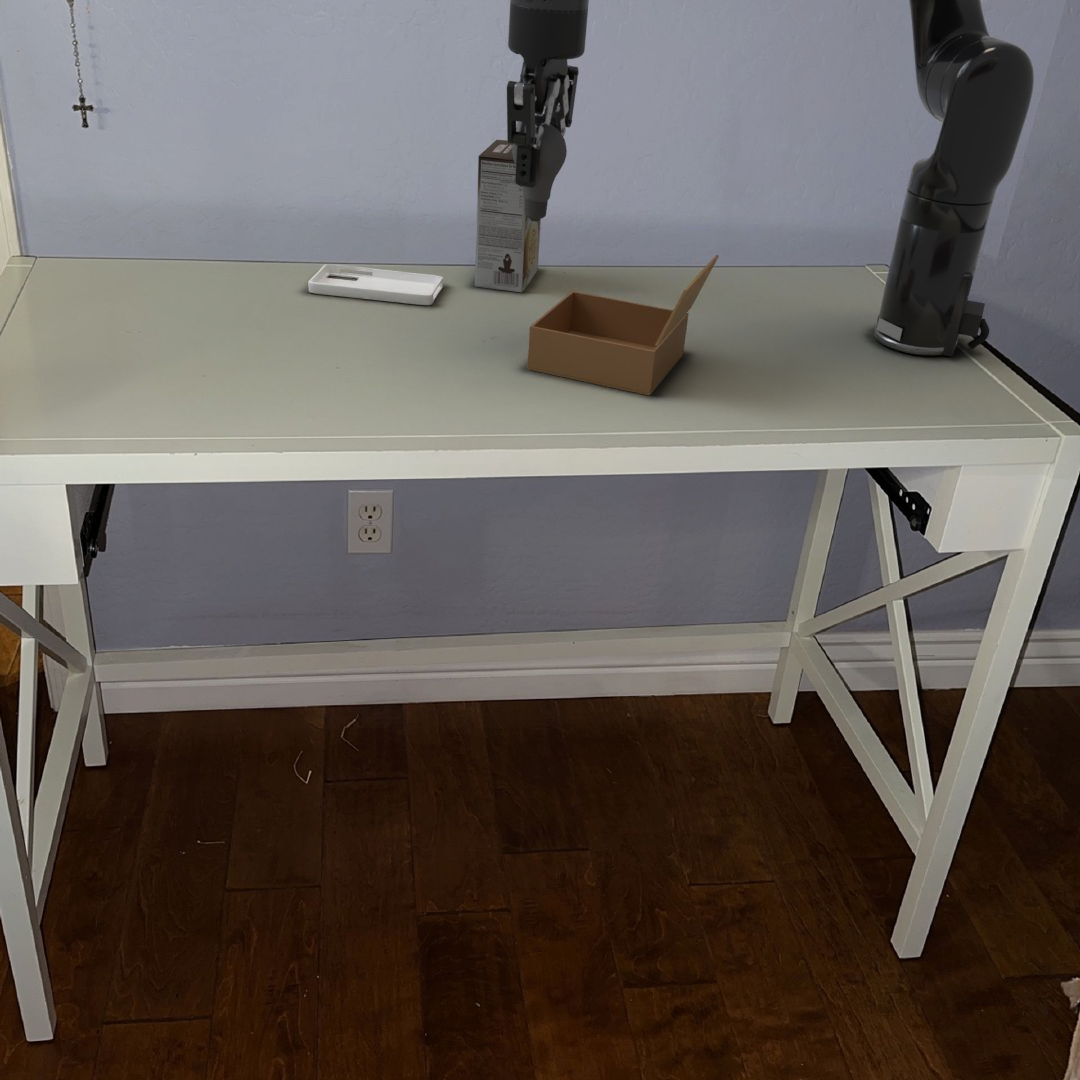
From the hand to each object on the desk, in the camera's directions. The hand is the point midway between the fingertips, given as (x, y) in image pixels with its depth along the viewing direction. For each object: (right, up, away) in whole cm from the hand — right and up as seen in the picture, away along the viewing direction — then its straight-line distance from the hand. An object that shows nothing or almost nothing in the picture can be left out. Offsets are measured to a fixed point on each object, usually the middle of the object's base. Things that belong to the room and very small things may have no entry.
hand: (537, 178), depth 120 cm
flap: (+15, -13, -1) cm, 20 cm away
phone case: (-20, -7, +21) cm, 29 cm away
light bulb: (0, -4, +2) cm, 5 cm away
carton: (+8, -18, +6) cm, 20 cm away
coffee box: (-4, -4, +27) cm, 28 cm away
